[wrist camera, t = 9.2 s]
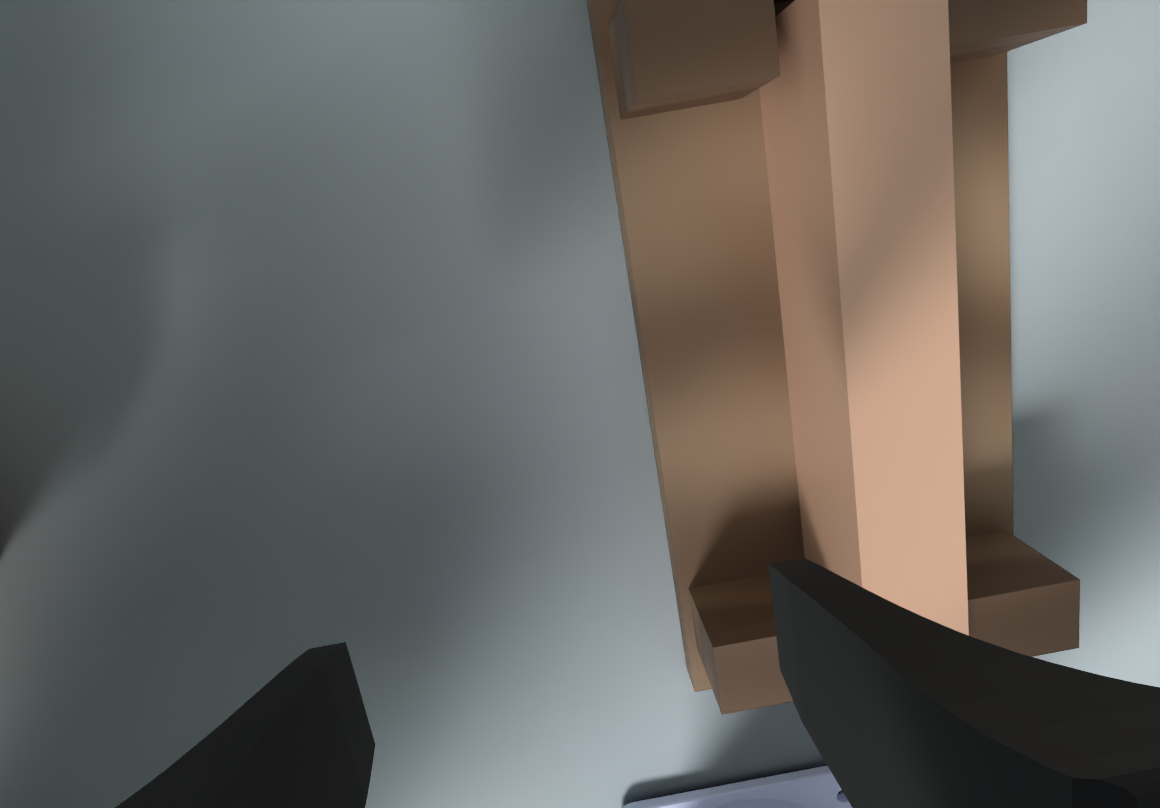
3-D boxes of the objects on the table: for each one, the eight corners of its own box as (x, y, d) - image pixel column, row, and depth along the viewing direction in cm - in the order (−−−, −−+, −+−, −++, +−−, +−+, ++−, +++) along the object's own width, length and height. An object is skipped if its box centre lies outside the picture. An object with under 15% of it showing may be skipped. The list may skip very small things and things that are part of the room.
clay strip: (892, 599, 22) (970, 683, 18) (810, 614, 21) (871, 702, 18) (855, 17, 17) (946, -41, 14) (754, 34, 17) (817, -19, 14)
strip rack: (990, 611, 23) (1087, 694, 19) (686, 668, 23) (719, 764, 19) (974, -86, 18) (1101, -175, 14) (584, -20, 18) (598, -90, 14)
